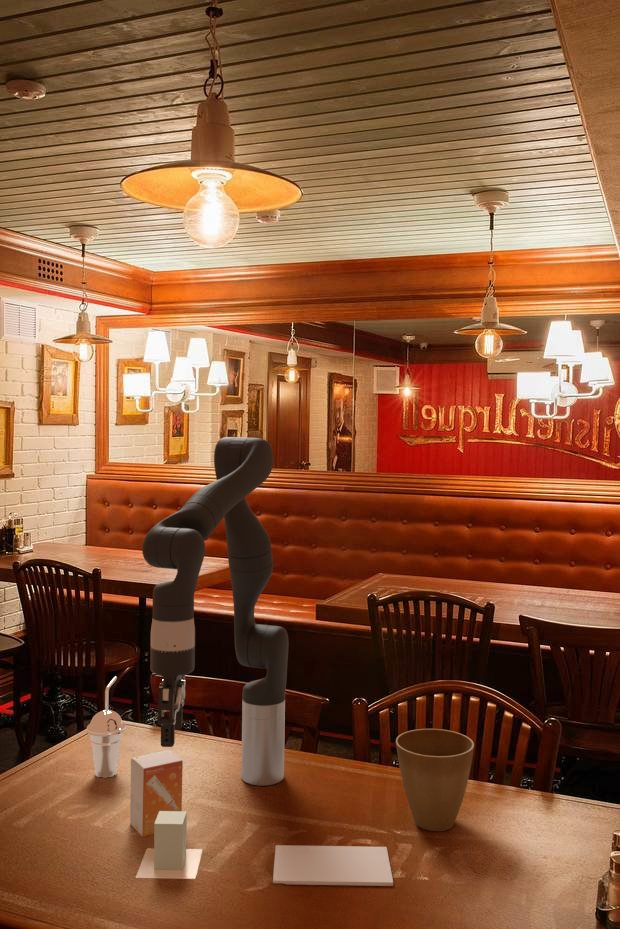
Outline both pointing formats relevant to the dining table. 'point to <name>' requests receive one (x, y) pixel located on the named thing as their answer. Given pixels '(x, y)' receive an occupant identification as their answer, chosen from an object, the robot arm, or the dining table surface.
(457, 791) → the plant pot
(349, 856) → the white rectangular board
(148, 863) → the tile
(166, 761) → the small box
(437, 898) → the dining table surface
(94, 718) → the cup with straw
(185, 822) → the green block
